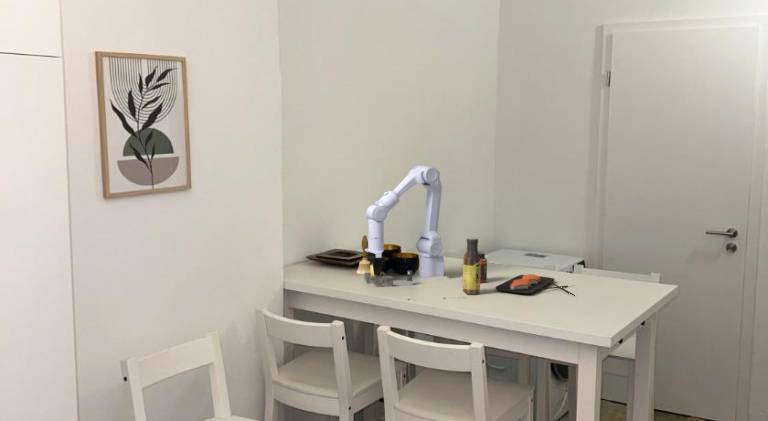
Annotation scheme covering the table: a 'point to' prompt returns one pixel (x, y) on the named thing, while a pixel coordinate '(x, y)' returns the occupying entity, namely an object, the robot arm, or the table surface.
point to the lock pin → (404, 282)
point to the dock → (379, 279)
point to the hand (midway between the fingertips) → (375, 273)
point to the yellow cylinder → (373, 271)
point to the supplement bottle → (483, 267)
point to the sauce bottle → (471, 268)
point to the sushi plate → (527, 284)
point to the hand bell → (364, 259)
